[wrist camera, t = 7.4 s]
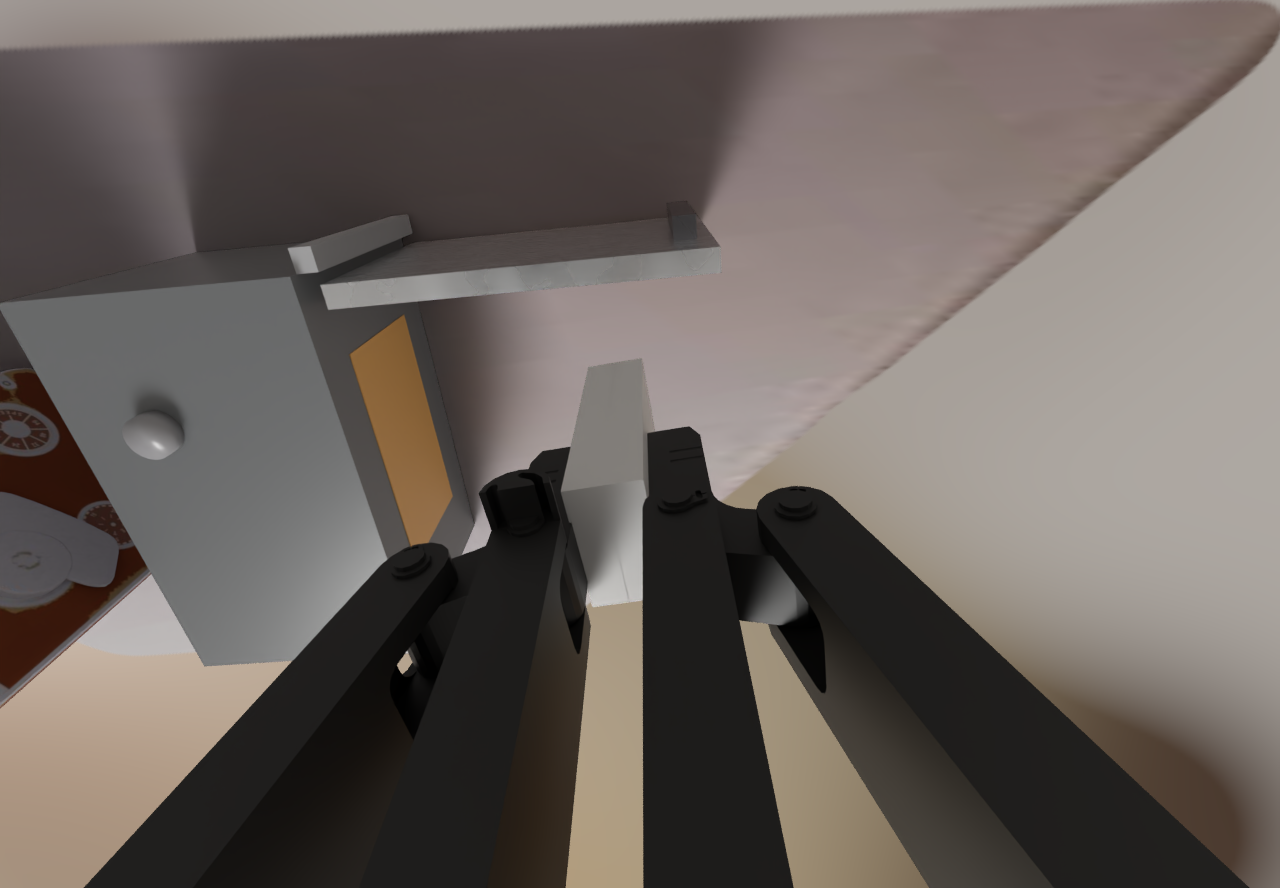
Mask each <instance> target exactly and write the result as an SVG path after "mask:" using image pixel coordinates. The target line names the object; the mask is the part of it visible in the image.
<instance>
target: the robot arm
mask: <svg viewBox="0 0 1280 888" xmlns="http://www.w3.org/2000/svg"><path fill="white" fill-rule="evenodd" d="M479 496H480V498H481V501H482V504H483V507H484V510H485V513H486V516H487V519H488V521H489V524H490V527H491V530H492V531H491V534H490V536H489V539H488V542H487V545H486V546H485V547H482V548H480V549H477V550H475V551H472V552H469V553H466V554H464V555H461V556H458V557H455V558H451V555H450V553H449V550H448V549H447V548H446V547H445V546H444V545H442V544H438V543H432V542H431V543H423V544H416V545H412V546H409V547H407V548H404V549H402V550H401V551H400V552H398V553H396V554H394V555H392V556H391V557H390V558H388V559H387V560H386V561H385V562H384V563H383V564H381V565H380V566H379V568H378V569H377V570H376V571H375V572H374V573H373V574H372V575H371V576H370V577H369V578H368V580H367V581H366V582H365V583H364V584H363V585H362V586H361V587H360V588H359V589H358V590H357V591H356V593H355V594H354V595H353V596H352V597H351V598H350V599H349V600H348V601H347V602H346V603H345V605H344V606H343V607H342V608H341V609H340V610H339V611H338V612H337V613H336V614H335V615H334V616H333V618H332V619H331V620H330V621H329V622H328V623H327V624H326V625H325V626H324V627H323V628H322V630H321V631H320V632H319V633H318V634H317V635H316V636H315V637H314V638H313V639H312V640H311V641H310V643H309V644H308V645H307V646H306V647H305V648H304V649H303V650H302V651H301V652H300V653H299V655H298V656H297V657H296V658H295V659H294V660H293V661H292V662H291V663H290V664H289V665H288V666H287V668H286V669H285V670H284V671H283V672H282V673H281V674H280V675H279V676H278V677H277V678H276V680H275V681H274V682H273V683H272V684H271V685H270V686H269V687H268V688H267V689H266V690H265V691H264V693H263V694H262V695H261V696H260V697H259V698H258V699H257V700H256V701H255V702H254V703H253V704H252V706H251V707H250V708H249V709H248V710H247V711H246V712H245V713H244V714H243V715H242V717H241V718H240V719H239V720H238V721H237V722H236V723H235V724H234V725H233V726H232V727H231V728H230V729H229V731H228V732H227V733H226V734H225V735H224V736H223V737H222V738H221V739H220V740H219V741H218V743H217V744H216V745H215V746H214V747H213V748H212V749H211V750H210V751H209V752H208V753H207V754H206V756H205V757H204V758H203V759H202V760H201V761H200V762H199V763H198V764H197V765H196V767H195V768H194V769H193V770H192V771H191V772H190V773H189V774H188V775H187V776H186V777H185V778H184V779H183V781H182V782H181V783H180V784H179V785H178V786H177V787H176V788H175V789H174V790H173V791H172V793H171V794H170V795H169V796H168V797H167V798H166V799H165V800H164V801H163V802H162V803H161V805H160V806H159V807H158V808H157V809H156V810H155V811H154V812H153V813H152V814H151V815H150V816H149V817H148V819H147V820H146V821H145V822H144V823H143V824H142V825H141V826H140V827H139V828H138V829H137V831H136V832H135V833H134V834H133V835H132V836H131V837H130V838H129V839H128V840H127V841H126V842H125V844H124V845H123V846H122V847H121V848H120V849H119V850H118V851H117V852H116V853H115V855H114V856H113V857H112V858H111V859H110V860H109V861H108V862H107V863H106V864H105V865H104V866H103V868H102V869H101V870H100V871H99V872H98V873H97V874H96V875H95V876H94V877H93V878H92V879H91V880H90V882H89V883H88V884H87V885H86V886H85V887H84V888H565V886H566V876H567V867H568V856H569V845H570V835H571V825H572V814H573V804H574V794H575V783H576V772H577V763H578V752H579V742H580V731H581V721H582V710H583V700H584V690H585V680H586V669H587V659H588V648H589V636H590V627H591V626H590V620H589V615H588V612H587V608H586V605H585V603H586V594H587V589H588V593H589V596H590V600H591V604H592V607H598V606H604V605H612V604H619V603H627V602H634V601H642V600H643V853H644V854H643V865H644V867H643V869H644V870H643V873H644V874H643V876H644V877H643V878H644V880H643V881H644V882H643V883H644V888H793V883H792V878H791V873H790V868H789V863H788V858H787V853H786V848H785V843H784V838H783V834H782V828H781V824H780V818H779V814H778V809H777V804H776V799H775V794H774V789H773V784H772V779H771V774H770V769H769V764H768V759H767V754H766V750H765V745H764V740H763V735H762V730H761V725H760V720H759V715H758V710H757V705H756V701H755V695H754V691H753V686H752V681H751V676H750V672H749V666H748V662H747V656H746V651H745V646H744V641H743V637H742V631H741V626H740V622H739V620H742V621H749V622H757V623H766V624H768V625H769V628H770V631H771V634H772V636H773V637H774V639H775V640H776V642H777V644H778V645H779V647H780V649H781V650H782V652H783V653H784V655H785V657H786V658H787V660H788V661H789V663H790V665H791V666H792V668H793V670H794V671H795V673H796V674H797V676H798V677H799V679H800V681H801V682H802V684H803V686H804V687H805V689H806V690H807V692H808V693H809V695H810V697H811V698H812V700H813V702H814V703H815V705H816V706H817V708H818V710H819V711H820V713H821V715H822V716H823V718H824V719H825V721H826V723H827V724H828V726H829V727H830V729H831V731H832V732H833V734H834V735H835V737H836V739H837V740H838V742H839V743H840V745H841V747H842V748H843V750H844V751H845V753H846V755H847V756H848V758H849V759H850V761H851V763H852V764H853V766H854V768H855V769H856V771H857V772H858V774H859V776H860V777H861V779H862V780H863V782H864V783H865V785H866V787H867V788H868V790H869V792H870V793H871V795H872V796H873V798H874V800H875V801H876V803H877V805H878V806H879V808H880V809H881V811H882V812H883V814H884V816H885V817H886V819H887V821H888V822H889V824H890V825H891V827H892V829H893V830H894V832H895V833H896V835H897V836H898V838H899V840H900V841H901V843H902V845H903V846H904V848H905V850H906V851H907V853H908V854H909V856H910V857H911V859H912V861H913V862H914V864H915V866H916V867H917V869H918V870H919V872H920V874H921V875H922V877H923V878H924V880H925V882H926V883H927V885H928V886H929V888H1249V887H1248V886H1247V885H1246V884H1245V883H1244V882H1243V881H1242V880H1240V879H1239V878H1238V877H1237V876H1236V875H1235V874H1234V873H1233V872H1232V871H1231V870H1230V869H1229V868H1228V867H1227V866H1226V865H1224V864H1223V863H1222V862H1221V861H1220V860H1219V859H1218V858H1217V857H1216V856H1215V855H1214V854H1213V853H1212V852H1211V851H1210V850H1208V849H1207V848H1206V847H1205V846H1204V845H1203V844H1202V843H1201V842H1200V841H1199V840H1198V839H1197V838H1196V837H1195V836H1193V835H1192V834H1191V833H1190V832H1189V831H1188V830H1187V829H1186V828H1185V827H1184V826H1183V825H1182V824H1181V823H1179V821H1178V820H1176V819H1175V818H1174V817H1173V816H1172V815H1171V814H1170V813H1169V812H1168V811H1167V810H1166V809H1165V808H1164V807H1163V806H1161V805H1160V804H1159V803H1158V802H1157V801H1156V800H1155V799H1154V798H1153V797H1152V796H1151V795H1150V794H1149V793H1148V792H1147V791H1145V790H1144V789H1143V788H1142V787H1141V786H1140V785H1139V784H1138V783H1137V782H1136V781H1135V780H1134V779H1133V778H1132V777H1131V776H1129V775H1128V774H1127V773H1126V772H1125V771H1124V770H1123V769H1122V768H1121V767H1120V766H1119V765H1118V764H1117V763H1116V762H1115V761H1113V760H1112V759H1111V758H1110V757H1109V756H1108V755H1107V754H1106V753H1105V752H1104V751H1103V750H1102V749H1101V748H1100V747H1099V746H1097V745H1096V744H1095V743H1094V742H1093V741H1092V740H1091V739H1090V738H1089V737H1088V736H1087V735H1086V734H1085V733H1084V732H1082V731H1081V730H1080V729H1079V728H1078V727H1077V726H1076V725H1075V724H1074V723H1073V722H1072V721H1071V720H1070V719H1069V718H1068V717H1066V716H1065V715H1064V714H1063V713H1062V712H1061V711H1060V710H1059V709H1058V708H1057V707H1056V706H1054V704H1053V703H1051V702H1050V701H1049V700H1048V699H1047V698H1046V697H1045V696H1044V695H1043V694H1042V693H1041V692H1040V691H1039V690H1038V689H1036V687H1034V686H1033V685H1032V684H1031V683H1030V682H1029V681H1028V680H1027V679H1026V678H1025V677H1023V675H1022V674H1021V673H1019V672H1018V671H1017V670H1016V669H1015V668H1014V667H1013V666H1012V665H1011V664H1010V663H1009V662H1008V661H1007V660H1006V659H1005V658H1003V657H1002V656H1001V655H1000V654H999V653H998V652H997V651H996V650H995V649H994V648H993V647H992V646H991V645H990V644H989V643H987V642H986V641H985V640H984V639H983V638H982V637H981V636H980V635H979V634H978V633H977V632H976V631H975V630H974V629H972V628H971V627H970V626H969V625H968V624H967V623H966V622H965V621H964V620H963V619H962V618H961V617H959V615H958V614H957V613H955V612H954V611H953V610H952V609H951V608H950V607H949V606H948V605H947V604H946V603H945V602H944V601H943V600H941V599H940V598H939V597H938V596H937V595H936V594H935V593H934V592H933V591H932V590H931V589H930V588H929V587H928V586H927V585H926V584H924V583H923V582H922V581H921V580H920V579H919V578H918V577H917V576H916V575H915V574H914V573H913V572H912V571H911V570H910V569H908V568H907V567H906V566H905V565H904V564H903V563H902V562H901V561H900V560H899V559H898V558H897V557H896V556H894V555H893V554H892V553H891V552H890V551H889V550H888V549H887V548H886V547H885V546H884V545H883V544H882V543H881V542H879V540H877V539H876V538H875V537H874V536H873V535H872V534H871V533H870V532H869V531H868V530H867V529H866V528H865V527H864V526H862V525H861V524H860V523H859V522H858V521H857V520H856V519H855V518H854V517H853V516H852V515H851V514H850V513H849V512H848V511H847V510H845V509H844V508H843V507H842V506H841V505H840V504H839V503H838V502H837V501H836V500H835V499H834V498H833V497H831V496H830V495H828V494H827V493H825V492H823V491H821V490H818V489H814V488H811V487H803V486H800V487H798V486H791V487H786V488H780V489H777V490H775V491H773V492H770V493H768V494H766V495H765V496H764V497H763V498H762V499H761V500H760V501H759V502H758V506H757V509H756V510H755V509H742V508H735V507H732V506H728V505H726V504H724V503H722V502H720V501H718V500H717V499H716V498H715V497H714V495H713V493H712V491H711V486H710V481H709V477H708V472H707V467H706V462H705V457H704V452H703V448H702V442H701V437H700V434H698V433H697V432H696V431H694V430H693V429H692V428H691V427H682V428H676V429H670V430H663V431H657V432H655V427H654V422H653V416H652V411H651V405H650V400H649V394H648V389H647V384H646V378H645V373H644V367H643V362H642V358H640V359H634V360H628V361H622V362H616V363H610V364H604V365H598V366H593V367H588V371H587V376H586V380H585V385H584V389H583V394H582V398H581V403H580V407H579V412H578V416H577V421H576V425H575V430H574V434H573V439H572V443H571V447H566V448H560V449H554V450H547V451H542V452H541V453H540V454H539V455H538V456H537V457H536V458H535V459H534V460H533V461H532V462H531V464H530V467H529V469H526V470H518V471H514V472H510V473H506V474H504V475H502V476H500V477H497V478H495V479H493V480H492V481H491V482H489V483H488V484H486V485H485V486H484V487H483V488H482V490H481V491H480V492H479ZM407 651H408V653H409V655H410V657H411V660H412V662H413V663H412V664H411V665H410V667H409V668H408V670H407V671H406V672H405V673H403V674H402V673H401V672H400V671H399V669H398V667H397V664H398V663H399V661H400V660H401V658H402V657H403V656H404V654H405V653H406V652H407Z"/></svg>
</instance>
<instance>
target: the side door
mask: <svg viewBox="0 0 1280 888" xmlns="http://www.w3.org/2000/svg"><path fill="white" fill-rule="evenodd" d="M667 214H668V218H659V219H649V220H639V221H629V222H619V223H609V224H598V225H588V226H578V227H568V228H558V229H548V230H538V231H527V232H517V233H507V234H497V235H487V236H477V237H466V238H456V239H446V240H436V241H426V242H416V243H411V244H409V245H407V246H405V247H403V248H400V249H398V250H396V251H394V252H392V253H390V254H387V255H385V256H383V257H381V258H379V259H376V260H374V261H372V262H370V263H368V264H365V265H363V266H361V267H359V268H357V269H354V270H352V271H350V272H348V273H346V274H343V275H341V276H339V277H337V278H335V279H332V280H330V281H328V282H326V283H324V284H321V285H320V286H321V289H322V292H323V295H324V298H325V302H326V305H327V308H328V310H332V309H342V308H353V307H364V306H374V305H385V304H396V303H406V302H417V301H427V300H438V299H449V298H459V297H470V296H480V295H491V294H502V293H512V292H523V291H533V290H544V289H555V288H565V287H576V286H587V285H597V284H608V283H618V282H629V281H640V280H650V279H661V278H671V277H682V276H693V275H703V274H714V273H721V247H720V245H719V244H718V242H717V241H716V240H715V238H714V237H713V236H712V234H711V233H710V232H709V230H708V229H707V228H706V226H705V225H704V224H703V222H702V221H701V219H700V218H699V217H698V215H696V213H695V212H694V211H693V209H692V208H691V206H690V205H689V204H688V202H687V201H679V202H669V203H667Z"/></svg>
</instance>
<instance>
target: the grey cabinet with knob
mask: <svg viewBox="0 0 1280 888" xmlns="http://www.w3.org/2000/svg"><path fill="white" fill-rule="evenodd" d="M410 234H412V229H411V225H410V220H409V216H408V214H407V215H396V216H390V217H387V218H384V219H380V220H377V221H374V222H371V223H367V224H364V225H361V226H358V227H354V228H351V229H348V230H345V231H341V232H338V233H335V234H332V235H329V236H325V237H322V238H319V239H316V240H312V241H309V242H304V243H293V244H282V245H271V246H261V247H250V248H239V249H228V250H217V251H207V252H196V253H192V254H188V255H184V256H180V257H176V258H172V259H168V260H164V261H161V262H157V263H153V264H149V265H145V266H141V267H137V268H133V269H129V270H125V271H121V272H117V273H114V274H110V275H106V276H102V277H98V278H94V279H90V280H86V281H82V282H78V283H74V284H70V285H66V286H63V287H59V288H55V289H51V290H47V291H43V292H39V293H35V294H31V295H27V296H23V297H19V298H16V299H12V300H8V301H4V302H0V311H1V312H2V314H3V316H4V318H5V319H6V321H7V323H8V324H9V326H10V328H11V330H12V331H13V333H14V335H15V337H16V338H17V340H18V342H19V344H20V345H21V347H22V349H23V351H24V352H25V354H26V356H27V358H28V359H29V361H30V363H31V365H32V366H33V368H34V370H35V372H36V373H37V375H38V377H39V379H40V380H41V382H42V384H43V386H44V387H45V389H46V391H47V393H48V394H49V396H50V398H51V399H52V401H53V403H54V405H55V406H56V408H57V410H58V412H59V413H60V415H61V417H62V419H63V420H64V422H65V424H66V426H67V427H68V429H69V431H70V433H71V434H72V436H73V438H74V440H75V441H76V443H77V445H78V447H79V448H80V450H81V452H82V454H83V455H84V457H85V459H86V461H87V462H88V464H89V466H90V467H91V469H92V471H93V473H94V474H95V476H96V478H97V480H98V481H99V483H100V485H101V487H102V488H103V490H104V492H105V494H106V495H107V497H108V499H109V501H110V502H111V504H112V506H113V508H114V509H115V511H116V513H117V515H118V516H119V518H120V520H121V522H122V523H123V525H124V527H125V529H126V530H127V532H128V534H129V536H130V537H131V539H132V541H133V542H134V544H135V546H136V548H137V549H138V551H139V553H140V555H141V556H142V558H143V560H144V562H145V563H146V565H147V567H148V569H149V570H150V572H151V574H152V576H153V577H154V579H155V581H156V583H157V584H158V586H159V588H160V590H161V591H162V593H163V595H164V597H165V598H166V600H167V602H168V604H169V605H170V607H171V609H172V611H173V612H174V614H175V616H176V617H177V619H178V621H179V623H180V624H181V626H182V628H183V630H184V631H185V633H186V635H187V637H188V638H189V640H190V642H191V644H192V645H193V647H194V649H195V651H196V652H197V654H198V656H199V658H200V659H201V661H202V663H203V665H204V666H217V665H232V664H249V663H262V662H263V663H264V662H279V661H293V660H294V659H295V658H296V657H297V656H298V655H299V653H300V652H301V651H302V650H303V649H304V648H305V647H306V646H307V645H308V644H309V643H310V641H311V640H312V639H313V638H314V637H315V636H316V635H317V634H318V633H319V632H320V631H321V630H322V628H323V627H324V626H325V625H326V624H327V623H328V622H329V621H330V620H331V619H332V618H333V616H334V615H335V614H336V613H337V612H338V611H339V610H340V609H341V608H342V607H343V606H344V605H345V603H346V602H347V601H348V600H349V599H350V598H351V597H352V596H353V595H354V594H355V593H356V591H357V590H358V589H359V588H360V587H361V586H362V585H363V584H364V583H365V582H366V581H367V580H368V578H369V577H370V576H371V575H372V574H373V573H374V572H375V571H376V570H377V569H378V568H379V566H380V565H381V564H383V563H384V562H385V561H386V560H387V559H388V558H390V557H391V556H392V555H394V554H396V553H398V552H400V551H401V550H402V549H404V548H407V547H409V546H412V545H416V544H423V543H431V542H432V543H438V544H442V545H444V546H445V547H446V548H447V549H448V550H449V553H450V555H451V558H455V557H458V556H461V555H462V553H463V551H464V548H465V546H466V544H467V541H468V539H469V537H470V534H471V532H472V530H473V527H474V521H473V517H472V513H471V510H470V506H469V502H468V498H467V494H466V490H465V486H464V482H463V478H462V474H461V470H460V466H459V463H458V459H457V455H456V451H455V447H454V443H453V439H452V435H451V431H450V427H449V423H448V419H447V415H446V412H445V408H444V404H443V400H442V396H441V392H440V388H439V384H438V380H437V376H436V372H435V368H434V364H433V361H432V357H431V353H430V349H429V345H428V341H427V337H426V333H425V329H424V325H423V321H422V317H421V314H420V310H419V306H418V302H406V303H396V304H385V305H374V306H364V307H353V308H342V309H332V310H328V308H327V305H326V302H325V298H324V295H323V292H322V289H321V286H320V285H321V284H324V283H326V282H328V281H330V280H332V279H335V278H337V277H339V276H341V275H343V274H346V273H348V272H350V271H352V270H354V269H357V268H359V267H361V266H363V265H365V264H368V263H370V262H372V261H374V260H376V259H379V258H381V257H383V256H385V255H387V254H390V253H392V252H394V251H396V250H398V249H400V248H403V243H402V239H401V238H403V237H405V236H407V235H410ZM406 653H408V651H407V652H406Z"/></svg>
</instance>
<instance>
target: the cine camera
mask: <svg viewBox="0 0 1280 888" xmlns="http://www.w3.org/2000/svg"><path fill="white" fill-rule="evenodd" d="M150 575H151V572H150V570H149V569H148V567H147V565H146V563H145V562H144V560H143V558H142V556H141V555H140V553H139V551H138V549H137V548H136V546H135V544H134V542H133V541H132V539H131V537H130V536H129V534H128V532H127V530H126V529H125V527H124V525H123V523H122V522H121V520H120V518H119V516H118V515H117V513H116V511H115V509H114V508H113V506H112V504H111V502H110V501H109V499H108V497H107V495H106V494H105V492H104V490H103V488H102V487H101V485H100V483H99V481H98V480H97V478H96V476H95V474H94V473H93V471H92V469H91V467H90V466H89V464H88V462H87V461H86V459H85V457H84V455H83V454H82V452H81V450H80V448H79V447H78V445H77V443H76V441H75V440H74V438H73V436H72V434H71V433H70V431H69V429H68V427H67V426H66V424H65V422H64V420H63V419H62V417H61V415H60V413H59V412H58V410H57V408H56V406H55V405H54V403H53V401H52V399H51V398H50V396H49V394H48V393H47V391H46V389H45V387H44V386H43V384H42V382H41V380H40V379H39V377H38V375H37V373H36V372H35V370H34V369H30V368H19V369H9V370H6V371H2V372H0V708H1V707H2V706H4V705H5V704H6V703H7V702H8V701H9V700H10V699H11V698H13V696H15V695H16V694H17V693H18V692H19V691H20V690H22V689H23V688H24V687H25V686H26V685H27V684H28V683H29V682H31V681H32V680H33V679H34V678H35V677H36V676H37V675H38V674H40V673H41V672H42V671H43V670H44V669H45V668H46V667H47V666H48V665H50V664H51V663H52V662H53V661H54V660H55V659H56V658H58V657H59V656H60V655H61V654H62V653H63V652H64V651H65V650H66V649H68V648H69V647H70V646H71V645H72V644H73V643H74V642H76V641H77V640H78V639H79V638H80V637H81V636H82V635H83V634H85V633H86V632H87V631H88V630H89V629H90V628H91V627H92V626H93V625H95V624H96V623H97V622H98V621H99V620H100V619H101V618H102V617H104V616H105V615H106V614H107V613H108V612H109V611H110V610H111V609H113V608H114V607H115V606H116V605H117V604H118V603H119V602H120V601H122V600H123V599H124V598H125V597H126V596H127V595H128V594H129V593H131V592H132V591H133V590H134V589H135V588H136V587H137V586H138V585H139V584H141V583H142V582H143V581H144V580H145V579H146V578H147V577H148V576H150Z"/></svg>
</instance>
